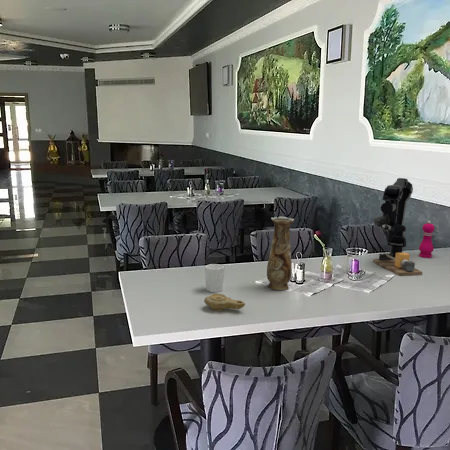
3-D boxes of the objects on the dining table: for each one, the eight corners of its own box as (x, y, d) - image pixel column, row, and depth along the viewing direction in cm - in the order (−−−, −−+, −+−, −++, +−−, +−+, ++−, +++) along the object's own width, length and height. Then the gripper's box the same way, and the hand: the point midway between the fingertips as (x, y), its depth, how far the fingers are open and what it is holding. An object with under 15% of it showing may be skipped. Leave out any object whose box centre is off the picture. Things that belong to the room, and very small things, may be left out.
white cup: (214, 285, 207) (215, 262, 205) (227, 290, 202) (228, 267, 200) (201, 289, 202) (201, 266, 200) (213, 294, 196) (214, 270, 194)
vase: (261, 286, 207) (264, 218, 201) (276, 281, 215) (279, 215, 209) (281, 292, 200) (284, 221, 194) (295, 287, 208) (299, 218, 202)
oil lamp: (245, 313, 177) (246, 300, 176) (207, 315, 174) (207, 302, 173) (239, 303, 187) (239, 291, 186) (202, 305, 184) (203, 292, 183)
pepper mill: (415, 255, 265) (419, 219, 261) (425, 254, 268) (428, 219, 264) (425, 258, 259) (429, 222, 255) (435, 257, 262) (439, 221, 258)
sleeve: (394, 265, 237) (395, 252, 236) (403, 265, 238) (404, 252, 237) (399, 267, 233) (400, 254, 232) (408, 267, 234) (409, 254, 233)
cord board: (373, 262, 250) (374, 250, 249) (393, 261, 253) (394, 249, 251) (399, 276, 227) (400, 263, 226) (422, 274, 230) (423, 262, 228)
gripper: (367, 208, 247) (364, 238, 250) (387, 215, 229) (384, 247, 232) (386, 208, 249) (384, 237, 252) (407, 214, 231) (404, 246, 234)
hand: (388, 242), depth 243 cm, fingers closed
